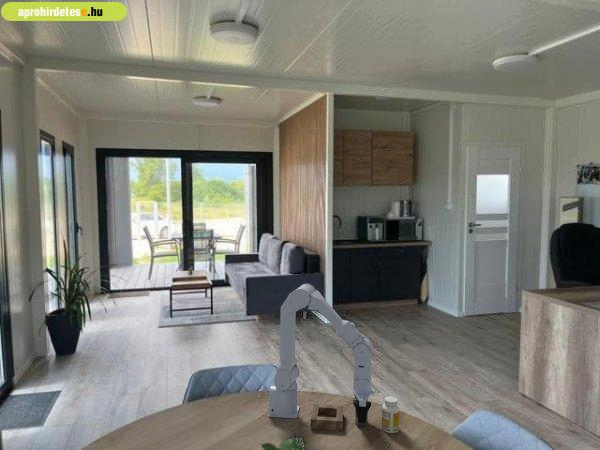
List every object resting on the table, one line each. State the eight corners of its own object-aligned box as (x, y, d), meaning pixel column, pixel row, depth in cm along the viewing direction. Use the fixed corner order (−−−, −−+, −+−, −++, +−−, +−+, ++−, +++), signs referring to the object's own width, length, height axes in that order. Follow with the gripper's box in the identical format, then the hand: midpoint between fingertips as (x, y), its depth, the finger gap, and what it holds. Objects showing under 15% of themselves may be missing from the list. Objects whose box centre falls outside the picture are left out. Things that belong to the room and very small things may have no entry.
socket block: (310, 428, 134) (310, 419, 134) (313, 412, 144) (313, 404, 144) (342, 430, 133) (342, 421, 133) (342, 414, 143) (343, 405, 143)
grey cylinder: (355, 426, 136) (355, 402, 135) (355, 420, 140) (355, 396, 139) (367, 427, 135) (368, 403, 135) (367, 420, 139) (367, 397, 139)
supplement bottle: (397, 425, 137) (398, 395, 136) (400, 434, 132) (400, 403, 131) (380, 424, 138) (381, 394, 137) (382, 433, 132) (383, 402, 132)
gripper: (376, 387, 129) (375, 430, 130) (373, 368, 143) (372, 407, 144) (352, 385, 130) (352, 428, 131) (352, 367, 144) (351, 406, 145)
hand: (361, 417), depth 137 cm, fingers open, 5 cm apart
